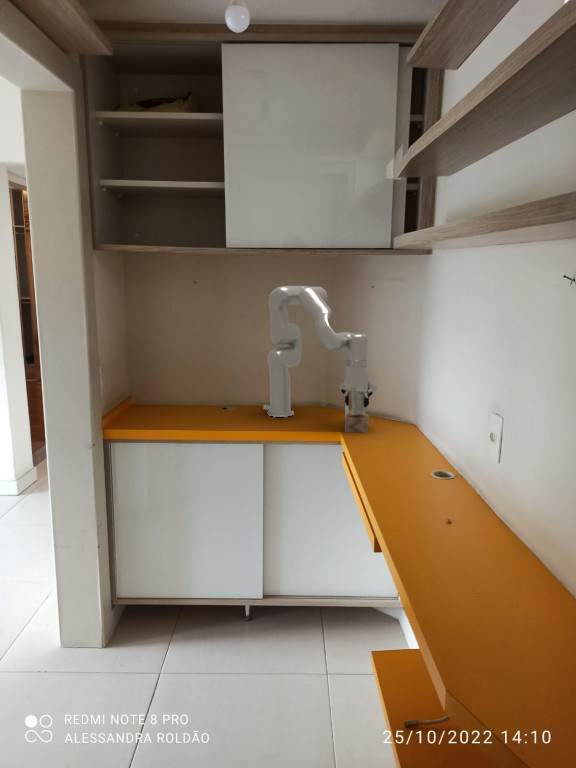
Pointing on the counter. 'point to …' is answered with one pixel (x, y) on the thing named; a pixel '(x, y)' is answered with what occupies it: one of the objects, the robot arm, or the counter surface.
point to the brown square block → (357, 423)
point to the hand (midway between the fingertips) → (356, 405)
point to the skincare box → (356, 402)
